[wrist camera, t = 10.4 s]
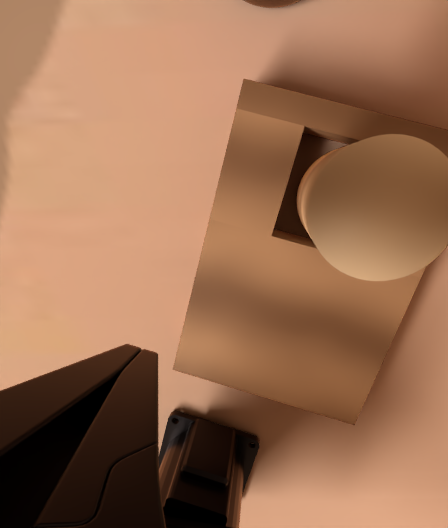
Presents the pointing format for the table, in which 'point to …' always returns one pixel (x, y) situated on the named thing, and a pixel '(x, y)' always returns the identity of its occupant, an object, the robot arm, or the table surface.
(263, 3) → the supplement bottle
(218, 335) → the board
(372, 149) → the peg
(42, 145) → the table surface
